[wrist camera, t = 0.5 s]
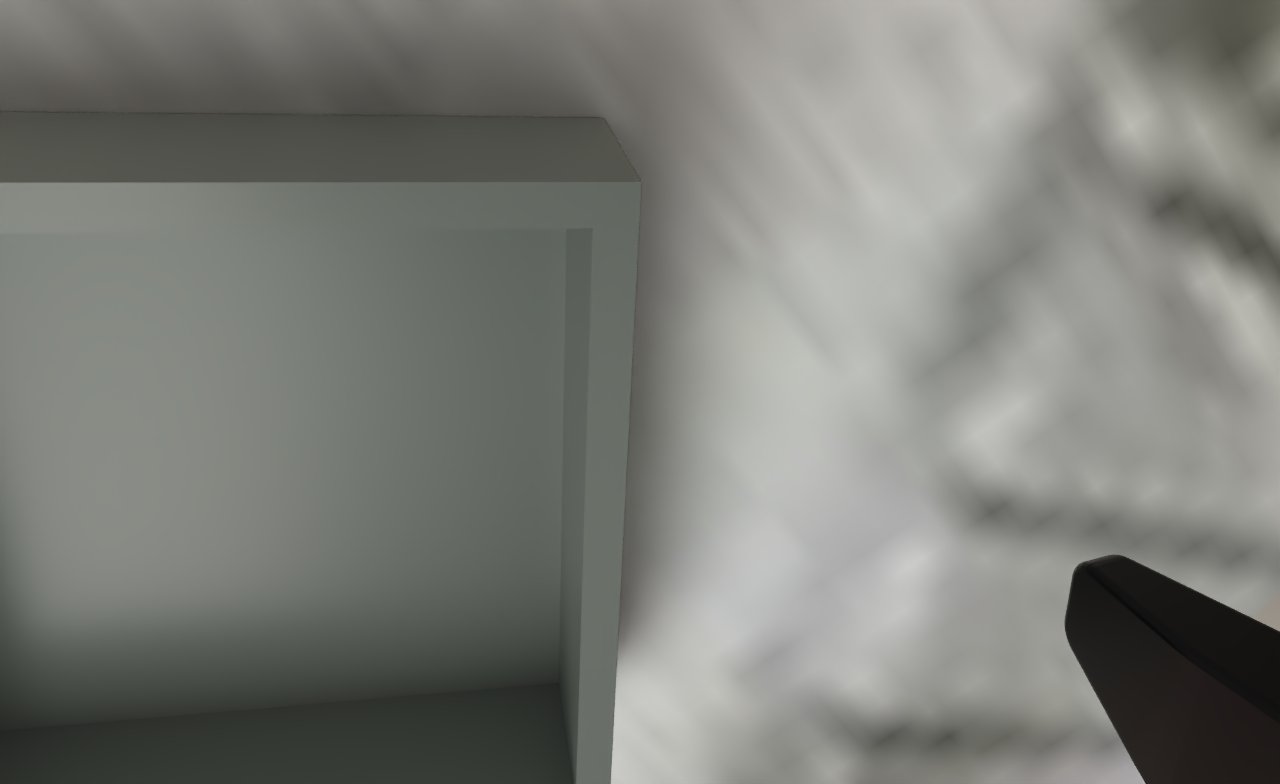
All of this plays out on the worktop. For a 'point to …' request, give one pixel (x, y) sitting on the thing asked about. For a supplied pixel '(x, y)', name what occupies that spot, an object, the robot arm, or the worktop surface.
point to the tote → (312, 447)
